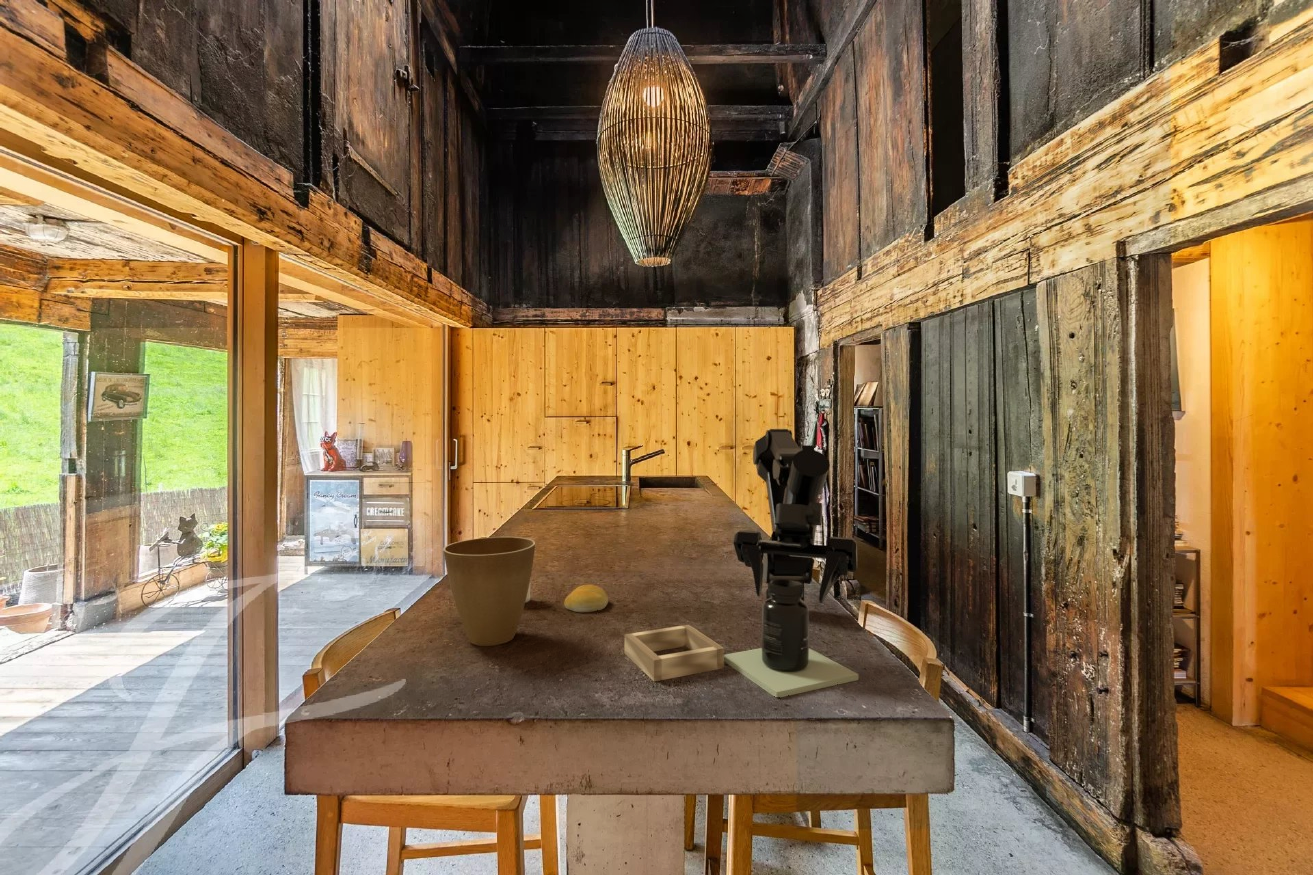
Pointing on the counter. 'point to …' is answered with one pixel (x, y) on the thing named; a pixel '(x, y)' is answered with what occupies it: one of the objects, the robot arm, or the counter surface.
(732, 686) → the counter surface
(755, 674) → the sage board
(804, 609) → the supplement bottle
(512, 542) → the plant pot
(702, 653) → the birch collar
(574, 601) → the bread roll
